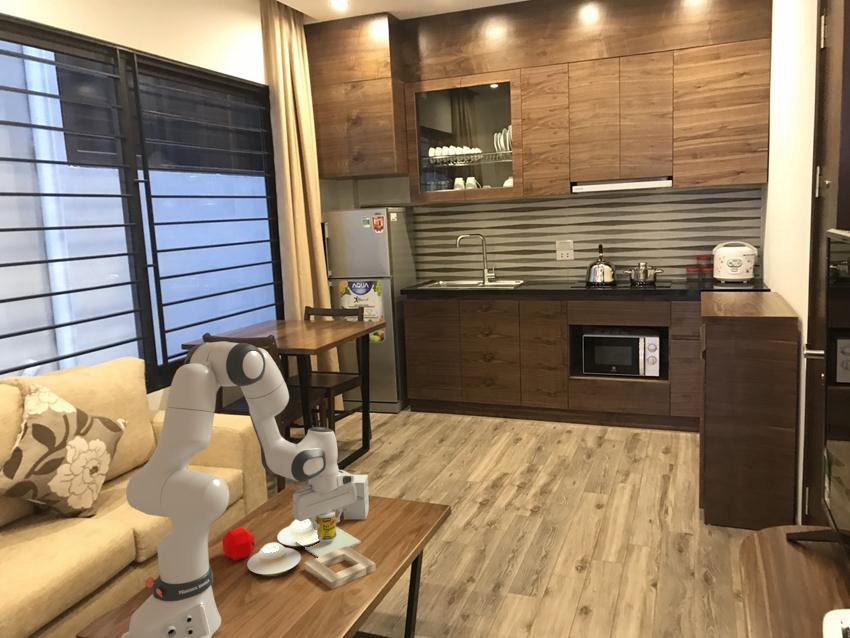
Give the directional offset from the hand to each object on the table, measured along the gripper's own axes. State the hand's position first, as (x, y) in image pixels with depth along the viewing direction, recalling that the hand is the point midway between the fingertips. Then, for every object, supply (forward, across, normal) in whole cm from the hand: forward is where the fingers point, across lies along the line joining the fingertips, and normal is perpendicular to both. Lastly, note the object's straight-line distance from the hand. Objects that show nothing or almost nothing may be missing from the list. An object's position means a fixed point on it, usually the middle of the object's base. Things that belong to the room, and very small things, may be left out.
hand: (326, 525), depth 203 cm
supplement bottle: (+4, 0, 0) cm, 4 cm away
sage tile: (+6, 0, 0) cm, 6 cm away
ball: (+6, -23, +11) cm, 26 cm away
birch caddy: (+6, -6, -16) cm, 18 cm away
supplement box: (+6, +17, +10) cm, 21 cm away
